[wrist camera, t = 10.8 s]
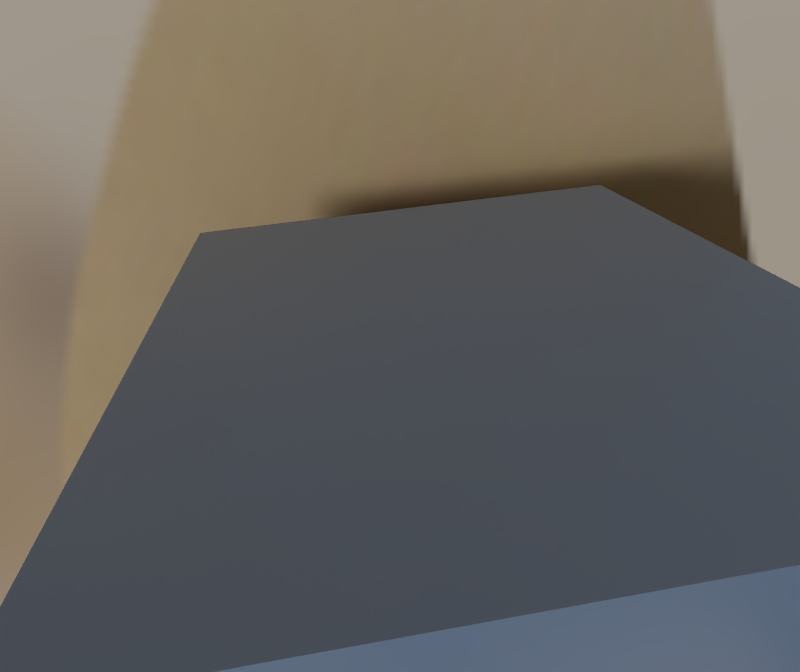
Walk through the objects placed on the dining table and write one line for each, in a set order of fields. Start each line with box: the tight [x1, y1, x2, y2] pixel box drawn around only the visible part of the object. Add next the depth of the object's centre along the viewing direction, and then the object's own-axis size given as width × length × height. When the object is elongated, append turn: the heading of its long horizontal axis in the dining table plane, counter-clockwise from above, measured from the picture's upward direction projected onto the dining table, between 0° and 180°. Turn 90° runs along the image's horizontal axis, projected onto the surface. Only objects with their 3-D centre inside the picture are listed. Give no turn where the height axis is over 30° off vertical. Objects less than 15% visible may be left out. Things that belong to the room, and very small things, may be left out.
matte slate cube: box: [0, 185, 800, 672], centre depth 9 cm, size 8×8×9 cm
